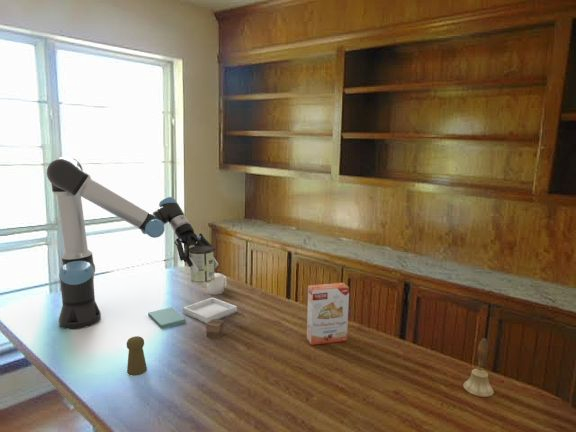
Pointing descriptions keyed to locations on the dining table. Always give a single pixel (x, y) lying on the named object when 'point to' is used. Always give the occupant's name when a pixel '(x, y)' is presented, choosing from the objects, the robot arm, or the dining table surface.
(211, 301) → the tray
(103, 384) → the dining table surface
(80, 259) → the robot arm
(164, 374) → the dining table surface
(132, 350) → the cork
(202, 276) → the coffee can
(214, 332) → the walnut block
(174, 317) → the teal notebook
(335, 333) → the cracker box
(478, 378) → the hand bell
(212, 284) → the mug
